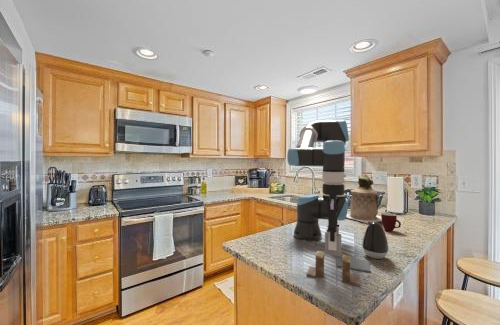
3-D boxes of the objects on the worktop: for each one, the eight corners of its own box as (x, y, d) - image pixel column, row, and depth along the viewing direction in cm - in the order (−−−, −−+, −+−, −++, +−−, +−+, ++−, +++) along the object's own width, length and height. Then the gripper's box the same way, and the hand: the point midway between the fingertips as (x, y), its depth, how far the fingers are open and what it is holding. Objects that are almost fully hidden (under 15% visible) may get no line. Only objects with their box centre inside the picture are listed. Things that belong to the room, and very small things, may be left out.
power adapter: (337, 256, 82) (337, 222, 82) (323, 252, 87) (324, 219, 86) (342, 254, 84) (342, 221, 84) (328, 249, 89) (328, 218, 88)
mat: (336, 266, 93) (336, 265, 93) (338, 257, 102) (338, 256, 102) (370, 272, 88) (370, 271, 88) (368, 262, 98) (368, 260, 98)
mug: (402, 231, 142) (402, 215, 142) (399, 234, 136) (399, 217, 136) (383, 228, 149) (383, 212, 149) (379, 230, 144) (379, 214, 144)
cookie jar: (368, 224, 158) (368, 177, 158) (338, 217, 180) (339, 175, 180) (389, 220, 170) (390, 176, 170) (359, 213, 192) (359, 174, 192)
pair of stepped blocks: (306, 276, 85) (306, 255, 85) (309, 268, 92) (309, 248, 92) (359, 286, 79) (359, 263, 78) (358, 276, 85) (359, 256, 85)
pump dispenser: (379, 251, 109) (379, 219, 109) (393, 261, 99) (394, 225, 99) (357, 252, 109) (358, 219, 109) (370, 261, 98) (370, 225, 98)
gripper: (343, 186, 76) (343, 258, 76) (344, 181, 92) (344, 240, 92) (319, 185, 78) (319, 254, 79) (324, 180, 95) (324, 238, 95)
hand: (332, 247), depth 85 cm, fingers closed on power adapter, 5 cm apart
